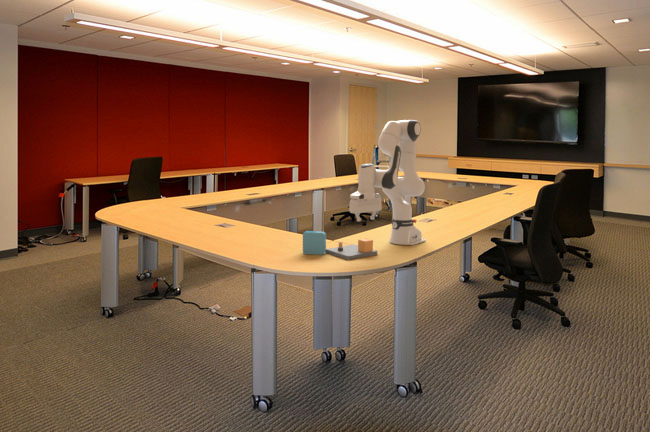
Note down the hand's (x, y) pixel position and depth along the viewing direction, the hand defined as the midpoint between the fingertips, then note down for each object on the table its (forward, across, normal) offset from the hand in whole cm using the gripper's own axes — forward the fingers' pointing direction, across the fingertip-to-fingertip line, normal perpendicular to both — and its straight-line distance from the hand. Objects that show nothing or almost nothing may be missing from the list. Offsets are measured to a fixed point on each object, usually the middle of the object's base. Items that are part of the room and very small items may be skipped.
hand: (365, 220), depth 274 cm
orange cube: (+17, 0, 0) cm, 17 cm away
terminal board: (+19, +5, -6) cm, 20 cm away
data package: (+19, +21, -18) cm, 33 cm away
